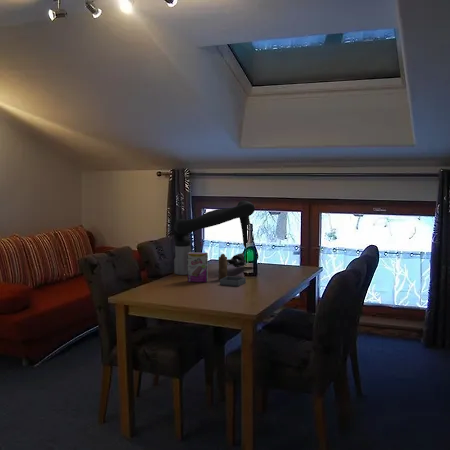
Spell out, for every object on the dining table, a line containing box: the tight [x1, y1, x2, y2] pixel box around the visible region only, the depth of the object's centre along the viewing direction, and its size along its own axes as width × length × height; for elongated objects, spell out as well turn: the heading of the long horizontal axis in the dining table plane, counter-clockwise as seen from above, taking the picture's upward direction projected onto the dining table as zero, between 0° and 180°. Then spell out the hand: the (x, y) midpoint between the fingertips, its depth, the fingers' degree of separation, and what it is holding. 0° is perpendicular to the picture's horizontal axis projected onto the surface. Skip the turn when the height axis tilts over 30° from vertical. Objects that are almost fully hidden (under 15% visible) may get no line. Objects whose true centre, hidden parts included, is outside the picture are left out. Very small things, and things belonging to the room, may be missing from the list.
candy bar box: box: [187, 251, 209, 283], centre depth 293 cm, size 11×5×16 cm, turn 84°
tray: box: [219, 275, 247, 287], centre depth 286 cm, size 11×10×3 cm
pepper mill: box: [218, 253, 228, 281], centre depth 297 cm, size 5×5×15 cm
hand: (228, 264), depth 304 cm, fingers open, 8 cm apart
